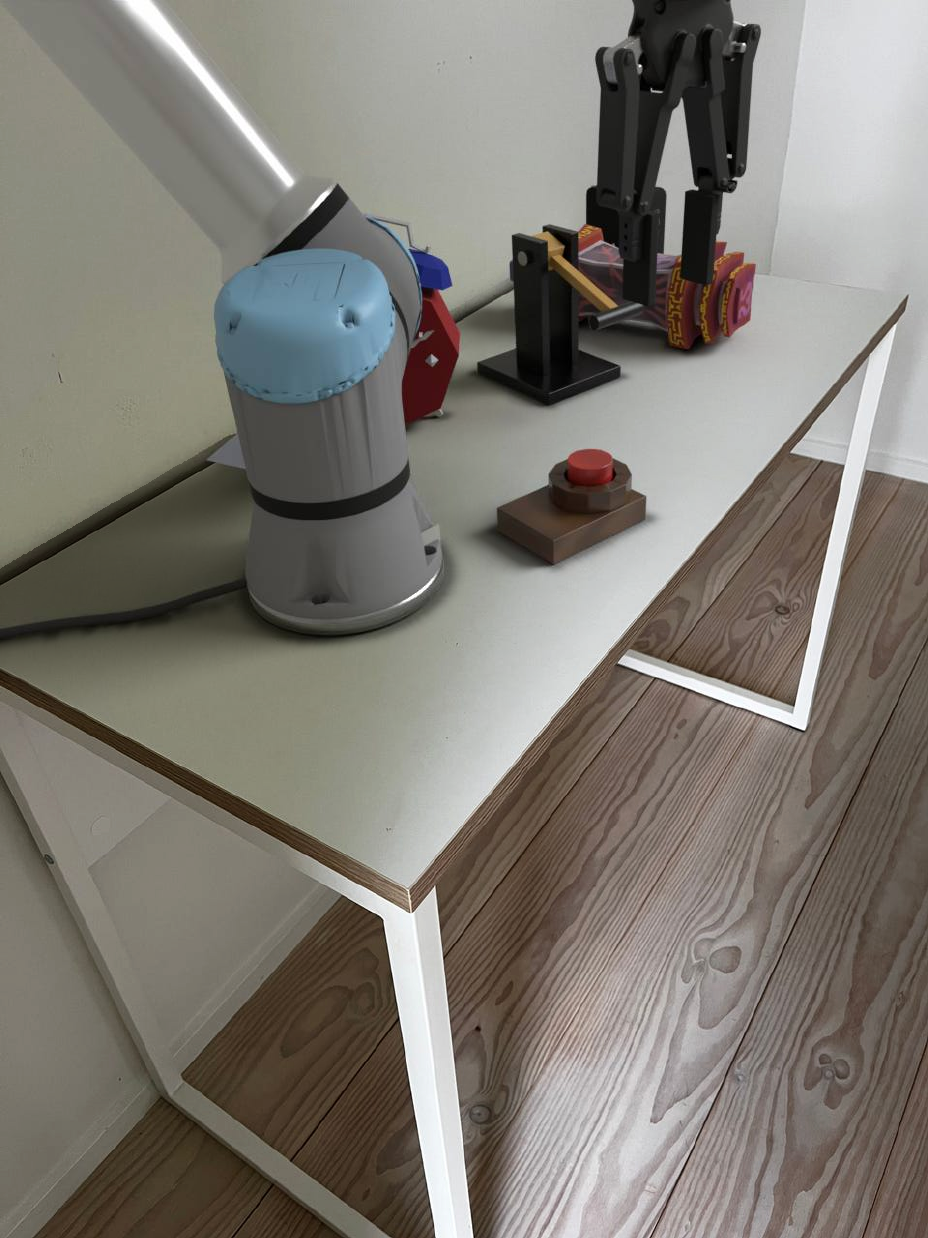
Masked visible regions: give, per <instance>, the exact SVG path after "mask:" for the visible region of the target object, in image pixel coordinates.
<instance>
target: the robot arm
mask: <svg viewBox="0 0 928 1238" xmlns="http://www.w3.org/2000/svg"><path fill="white" fill-rule="evenodd" d="M631 1H632V4H633V13H632V18H631V22H630V25H629V28H628V31H627V37H626V38H625V39H623V40H621V42H619V43H618V44H616V45H614V46H612V47H611V46H601V47H599V48H598V49H597V50H596V52H595V56H594V62H595V67H596V72H597V77H598V82H599V87H600V95H599V118H598V119H599V121H598V122H599V123H598V143H597V146H598V148H597V171H596V185H597V195H596V200H597V203H598V205H600V206H603V207H607V208H612V209H615V210H617V211H618V213H619V255H620V258H622V259H623V294H622V299H625V300H628V301H632V302H635V303H638V304H641V305H644V306H647V307H649V306H651V305H654V304H655V297H656V275H657V253H658V230H659V213H657V212H652V211H650V208H651V204H652V200H653V195H654V191H655V187H657V186H656V185H657V181H658V177H659V172H660V168H661V163H662V159H663V155H664V150H665V145H666V142H667V136H668V133H669V128H670V124H671V120H672V115H673V111H674V110H676V108H678V107H679V105H680V104H681V100H682V106H683V111H684V113H683V114H684V119H685V128H686V134H687V135H686V136H687V141H688V142H687V143H688V149H689V157H690V163H691V165H690V166H691V171H692V172H691V173H692V179H693V185H694V187H696V188H697V189H698V190H697V189H688V190H686V191H684V203H683V204H684V207H683V222H682V237H681V238H682V239H681V253H680V255H681V271H680V279H684V280H687V281H691V282H694V283H698V284H701V285H705V286H707V285H710V284H712V283H713V274H714V261H715V248H716V241H717V235H719V233H720V229H721V223H722V212H723V199H724V193H726V194H733V193H734V192H735V191H736V189H737V186H738V180H737V179H735V178H742V177H744V176H745V174H746V171H747V167H748V166H747V165H748V151H749V148H748V147H749V135H750V134H749V133H750V122H751V121H750V119H751V102H752V87H753V72H754V62H755V58H756V54H757V50H758V46H759V42H760V39H761V36H762V29H761V26H760V24H758V23H747V22H746V23H745V22H739V21H737V20H736V21H735V17H734V12H733V8H732V3H731V1H732V0H631ZM0 5H1V6H2V7H3V8H4V9H5V10H6V11H7V13H9V15H10V16H11V17H12V19H14V20H15V21H16V23H18V25H19V26H20V27H21V28H22V29H23V30H24V31H25V33H26V34H27V35H28V36H29V37H30V38H31V39H32V40H33V42H34V43H35V44H36V45H37V46H38V47H39V48H40V50H41V51H42V52H43V53H44V54H45V55H46V56H47V58H48V59H49V60H50V61H51V62H52V63H53V64H54V65H55V66H56V68H58V70H59V71H60V72H61V73H62V74H63V76H64V77H65V78H66V79H67V80H68V81H69V82H70V83H71V85H72V86H73V87H74V88H75V89H76V90H77V91H78V92H79V93H80V94H81V96H82V97H83V98H84V99H85V100H86V101H87V102H88V104H89V105H90V106H91V107H92V108H93V109H94V111H95V112H96V113H98V115H99V116H100V118H102V119H103V120H104V122H105V123H106V124H107V125H108V126H109V127H110V128H111V130H112V131H113V132H114V133H115V134H116V135H117V136H118V138H119V139H120V140H121V141H122V142H123V143H124V144H125V145H126V147H128V148H129V150H130V152H132V153H133V154H134V155H135V156H136V158H137V159H138V160H139V161H140V162H141V163H142V165H144V167H145V168H146V169H147V170H148V171H149V172H150V174H152V176H153V177H154V178H155V179H156V180H157V182H159V184H160V185H161V186H162V187H163V189H165V190H166V191H167V192H168V194H169V195H170V196H171V197H172V198H173V200H175V202H176V203H177V204H178V205H179V206H180V207H181V208H182V209H183V210H184V211H185V213H186V214H187V215H188V216H189V217H190V219H191V220H192V221H193V222H194V223H195V224H196V226H198V228H199V229H200V230H201V231H202V232H203V234H205V236H206V237H207V238H208V239H209V240H210V241H211V242H212V243H213V244H214V246H215V247H216V248H217V249H218V252H219V253H220V256H221V283H222V286H221V288H220V290H219V292H218V293H217V296H216V299H215V302H214V306H213V321H214V328H215V336H214V337H215V339H214V340H215V341H214V342H215V347H216V355H217V356H216V357H217V359H218V361H219V364H220V367H221V369H222V371H223V377H224V380H225V384H226V389H227V392H228V397H229V401H230V407H231V410H232V414H233V419H234V424H235V428H236V434H237V433H238V437H239V441H240V446H241V450H242V455H243V459H244V463H245V468H246V469H245V472H246V476H247V480H248V484H249V489H250V494H251V498H252V513H251V520H250V526H249V533H248V540H247V541H248V542H247V550H246V558H245V562H244V563H245V565H244V571H245V572H244V574H245V577H242V578H238V579H235V580H232V581H229V582H224V583H221V584H219V585H215V586H212V587H209V588H205V589H202V590H199V591H196V592H193V593H190V594H187V595H184V596H181V597H179V598H176V599H172V600H169V601H167V602H163V603H159V604H155V605H151V606H147V607H146V606H145V607H141V608H137V609H130V610H123V611H117V612H109V613H100V614H89V615H80V616H70V617H63V618H56V619H49V620H43V621H38V622H36V621H35V622H30V623H26V624H25V623H24V624H19V625H15V626H13V625H12V626H10V627H9V626H8V627H3V628H0V640H5V639H10V638H16V637H22V636H26V635H33V634H39V633H44V632H51V631H57V630H66V629H71V628H82V627H90V626H101V625H110V624H119V623H125V622H126V623H127V622H132V621H138V620H144V619H147V618H153V617H157V616H160V615H166V614H168V613H172V612H175V611H178V610H180V609H181V610H182V609H184V608H186V607H189V606H193V605H195V604H199V603H201V602H204V601H208V600H210V599H214V598H217V597H221V596H224V595H227V594H231V593H234V592H237V591H242V590H244V589H247V593H248V596H249V601H250V602H251V605H252V607H253V608H254V610H255V611H256V612H257V613H258V614H259V616H261V617H262V618H263V619H265V620H266V621H268V622H269V623H271V624H272V625H274V626H277V627H279V628H281V629H285V630H288V631H292V632H295V633H299V634H305V635H314V636H315V635H317V636H341V635H350V634H356V633H362V632H367V631H371V630H374V629H375V630H376V629H379V628H382V627H384V626H387V625H388V626H389V625H390V624H393V623H396V622H397V621H400V620H402V619H404V618H405V617H408V616H410V615H411V614H413V613H414V612H416V611H418V610H419V609H421V607H423V606H424V605H426V604H427V602H429V601H430V600H431V599H432V598H433V597H434V595H436V593H437V591H438V590H439V588H440V587H441V585H442V582H443V579H444V577H445V560H444V559H445V558H444V551H443V550H444V549H443V546H442V543H441V540H442V539H441V529H440V523H437V524H436V525H434V523H433V521H432V519H431V517H430V515H429V514H428V511H427V509H426V508H425V505H424V503H423V501H422V499H421V497H420V495H419V493H418V491H417V489H416V487H415V485H414V482H413V481H412V476H411V467H410V459H409V450H408V449H409V448H408V441H407V433H406V431H407V430H406V425H405V422H404V413H403V404H402V379H403V375H404V371H405V367H406V364H407V360H408V357H409V353H410V348H411V344H412V342H413V340H414V338H415V336H416V333H417V330H418V328H419V324H420V320H421V310H422V292H421V284H420V278H419V273H418V270H417V267H416V264H415V261H414V259H413V257H412V255H411V253H410V251H409V249H410V248H408V246H407V245H406V243H405V242H404V241H403V239H402V238H401V237H400V236H399V235H398V234H397V233H396V232H395V231H394V230H393V229H391V227H389V226H388V225H386V224H385V223H384V222H382V221H378V220H376V219H373V218H371V217H368V216H364V215H363V214H364V213H363V212H362V211H361V210H360V209H359V208H358V206H357V205H356V204H355V203H354V202H353V200H352V199H351V198H350V197H349V195H348V194H347V192H346V191H344V189H343V187H341V185H340V184H339V182H338V181H337V180H335V179H334V177H326V176H317V175H310V174H308V173H306V172H304V171H303V170H302V169H301V167H299V165H298V164H297V163H296V162H295V160H294V158H292V157H291V155H290V154H289V153H288V152H287V151H286V149H285V148H284V147H283V145H282V144H281V142H280V141H279V140H278V139H277V138H276V136H274V134H273V132H271V130H270V129H269V127H267V125H266V124H265V123H264V122H263V121H262V119H261V118H260V117H259V115H258V114H257V113H256V112H255V110H253V108H252V107H251V106H250V104H249V103H248V102H247V101H246V99H245V98H244V97H243V96H242V94H241V93H240V92H239V91H238V89H237V88H236V87H235V86H234V85H233V83H232V82H231V81H230V80H229V78H228V77H227V76H226V74H225V73H224V71H222V70H221V68H220V67H219V66H218V65H217V64H216V62H215V61H214V60H213V59H212V57H211V56H210V55H209V53H208V52H207V51H206V49H204V47H203V46H202V45H201V44H200V42H199V41H198V40H197V39H196V38H195V36H194V35H193V33H191V31H190V30H189V29H188V27H187V26H186V25H185V24H184V23H183V21H182V20H181V19H180V17H179V16H178V15H177V14H176V13H175V11H174V10H173V8H171V6H170V5H169V4H168V3H167V2H166V0H0ZM728 155H730V157H728ZM634 190H636V192H637V195H635V194H634Z"/></svg>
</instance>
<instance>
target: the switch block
mask: <svg viewBox="0 0 928 1238" xmlns="http://www.w3.org/2000/svg"><path fill="white" fill-rule="evenodd" d="M612 458H613V470H612V480H611V482H608V483H606V484H604V485H601V486H593V487H586V486H579V485H574V484H572V483H570V482H569V481H568V470H567V459H568V458H566V459H564V460H562V461H559V462H557V463H555V464H554V466H553V467H552V468H551V470H550V471H549V472H548V475H547V476H548V478H547V479H548V484H547V485H545V486H543V487H540V488H537V489H535V490H534V491H531V492H529V493H526V494H524V495H522V496H520V497H518V498H515V499H513V500H511V501H509V502H507V503H504V504H502V505H500V506H498V507H496V521H497V531H498V532H499V533H501V534H503V535H504V536H506V537H508V538H509V539H510V540H512V541H514V542H516V543H518V544H519V545H521V546H522V547H524V548H526V549H527V550H528V551H530V552H532V553H534V554H535V555H537V556H538V557H540V558H542V559H543V560H545V561H547V562H548V563H550V564H551V565H556V564H558V563H560V562H563V561H564V560H566V559H569V558H570V557H572V556H574V555H577V554H578V553H580V552H582V551H584V550H587V549H588V548H590V547H593V546H594V545H596V544H598V543H600V542H603V541H604V540H607V539H609V538H611V537H612V536H615V535H616V534H618V533H620V532H623V531H625V530H627V529H629V528H631V527H634V526H635V525H637V524H639V523H641V522H643V521H645V520H646V517H647V516H646V514H647V513H646V512H647V495H646V494H643V493H641V492H639V491H637V490H635V489H632V484H633V483H632V482H633V481H632V480H633V473H632V472H631V470H630V468H629V466H628V465H627V464H626V463H624V462H622V461H620V460H617V459H616V458H614V457H612Z"/></svg>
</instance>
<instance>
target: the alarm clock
mask: <svg viewBox="0 0 928 1238" xmlns="http://www.w3.org/2000/svg"><path fill="white" fill-rule="evenodd" d="M362 214H363V215H364V216H368V217H371V218H373V219H376V220H378V221H380V222H381V223H386V224H387V223H388V224H392V225H396V226H400V227H406V228H405V229H406V234H407V238H408V239H407V240H408V244H409V247H410V248H408V249H409V251H410V253H411V255H412V257H413V259H414V261H415V264H416V267H417V270H418V273H419V278H420V284H421V292H422V310H421V320H420V324H419V328H418V330H417V333H416V336H415V338H414V340H413V342H412V344H411V348H410V353H409V357H408V360H407V364H406V367H405V371H404V375H403V379H402V404H403V413H404V422H405V426H406V425H408V424H410V423H412V422H415V421H417V420H419V419H421V418H423V417H426V416H428V415H430V414H434V415H435V416H436V417H438V418H440V417H442V416H443V415H444V412H443V410H442V407H443V403H444V401H445V397H446V395H447V391H448V389H449V386H450V383H451V380H452V377H453V375H454V372H455V369H456V366H457V363H458V359H459V357H460V343H461V342H460V340H461V331H460V330H459V328H458V326H457V324H456V322H455V320H454V319H453V316H452V314H451V313H450V311H449V308H448V307H447V305H446V303H445V301H444V299H443V297H442V295H441V293H440V291H444V290H447V289H449V288H451V287H453V282H452V278H451V274H450V269H449V266H448V265H447V263H446V262H444V261H443V259H441V258H439V257H437V256H435V255H433V253H431V252H430V251H431V249H432V246H431V245H426V246H425V248H423V247H421V246H420V245H418V244H416V243H415V242H414V237H413V230H412V225H411V222H408V221H404V220H399V219H395V218H390V217H386V216H381V215H377V214H372V213H367V212H365V213H362Z"/></svg>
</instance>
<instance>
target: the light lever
mask: <svg viewBox="0 0 928 1238" xmlns="http://www.w3.org/2000/svg"><path fill="white" fill-rule="evenodd" d="M531 236H532V237H536V238H539V239H543V240H546V241H548V271H549V270H552V269H554V270H555V271H556V272H558V273H559V274H560V275H561V276H562V277H563V278H564V279H565V280H566V281H568V282H569V283H570V284H571V285H572V286H573V287H574V288H575V289H577V290H578V291H579V292H580V293H581V294H582V295H583V296H584V297H586V298H587V299H588V300H589V301H590V302H591V303H592V304H593V305H595V306H596V307H597V308H598V309H599V310H600V311H601V312H600V313H597V314H594V315H589V316H588V317H589V318H588V326H589V328H590V329H591V330H592V331H594V332H595V331H598V330H602V329H603V328H604V329H605V328H606V327H609V326H612V325H615V324H618V323H621V322H623V321H627V320H626V319H629V318H632V317H635V316H637V315H640V314H642V313H643V311H644V305H641V304H638V303H635V302H632V301H631V302H628V303H625V304H622V305H620V306H618V305H616V304H615V303H614V302H613V301H612V300H611V299H610V298H609V297H607V296H606V295H605V294H604V293H603V292H602V291H601V290H599V289H598V288H597V287H596V286H595V285H594V284H593V283H591V282H590V281H589V280H588V279H587V278H586V277H585V276H583V275H582V274H581V273H580V272H579V271H578V270H577V269H576V268H574V267H573V266H572V265H571V264H570V263H569V262H568V261H566V260H565V259H564V258H563V257H562V256H563V252H564V248H565V246H564V245H563V244H562V243H560V242H559V241H558V240H557V239H556V238H555V237H554V236H552V235H551V234H550V233H549V232H548V231H547V232H544V233H543V232H541V233H538V234H534V235H531Z"/></svg>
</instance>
